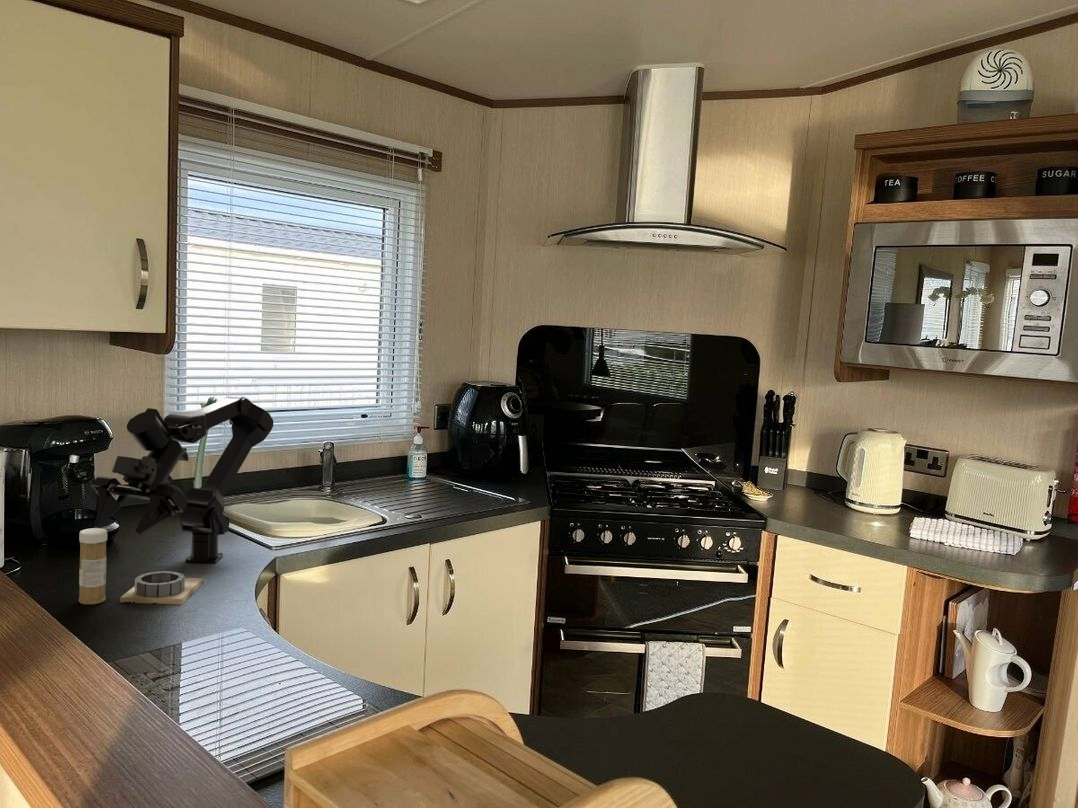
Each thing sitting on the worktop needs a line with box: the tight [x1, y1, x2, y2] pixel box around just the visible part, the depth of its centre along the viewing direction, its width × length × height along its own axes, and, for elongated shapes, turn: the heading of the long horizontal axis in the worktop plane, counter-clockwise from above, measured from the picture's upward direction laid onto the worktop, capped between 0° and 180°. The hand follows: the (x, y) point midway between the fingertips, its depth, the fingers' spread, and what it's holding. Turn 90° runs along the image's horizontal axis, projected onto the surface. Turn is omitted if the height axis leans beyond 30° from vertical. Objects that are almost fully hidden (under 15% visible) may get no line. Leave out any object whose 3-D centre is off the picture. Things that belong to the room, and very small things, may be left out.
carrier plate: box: [119, 577, 204, 605], centre depth 165 cm, size 13×11×2 cm
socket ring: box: [134, 570, 186, 598], centre depth 163 cm, size 8×8×2 cm
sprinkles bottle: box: [78, 527, 108, 605], centre depth 157 cm, size 5×5×14 cm
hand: (116, 530), depth 162 cm, fingers open, 9 cm apart
